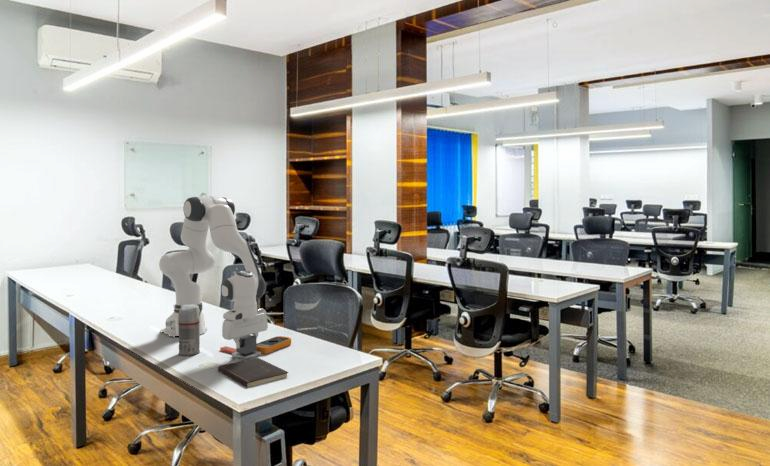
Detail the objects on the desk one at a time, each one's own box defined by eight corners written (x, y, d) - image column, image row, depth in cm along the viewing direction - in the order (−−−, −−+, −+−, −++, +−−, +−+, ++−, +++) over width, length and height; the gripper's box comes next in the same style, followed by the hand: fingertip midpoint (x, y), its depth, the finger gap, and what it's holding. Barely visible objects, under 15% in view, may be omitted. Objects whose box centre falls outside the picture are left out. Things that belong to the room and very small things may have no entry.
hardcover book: (257, 363, 202) (257, 357, 202) (288, 378, 185) (288, 372, 185) (217, 372, 191) (217, 366, 191) (246, 389, 174) (246, 382, 174)
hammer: (214, 352, 215) (214, 341, 215) (230, 347, 222) (230, 337, 221) (244, 360, 204) (244, 348, 204) (260, 355, 210) (260, 344, 210)
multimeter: (293, 344, 227) (293, 337, 227) (266, 355, 211) (266, 347, 211) (278, 342, 231) (277, 334, 231) (250, 353, 215) (249, 344, 215)
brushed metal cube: (236, 352, 209) (236, 337, 208) (247, 348, 213) (247, 334, 213) (245, 354, 206) (245, 339, 205) (256, 351, 210) (256, 336, 210)
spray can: (205, 352, 215) (203, 304, 214) (188, 357, 208) (187, 307, 207) (191, 349, 219) (190, 302, 218) (174, 354, 212) (173, 305, 211)
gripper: (260, 306, 219) (261, 339, 220) (219, 315, 202) (220, 350, 203) (270, 308, 215) (271, 341, 216) (229, 317, 198) (230, 353, 199)
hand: (246, 345), depth 209 cm, fingers closed on brushed metal cube, 6 cm apart
